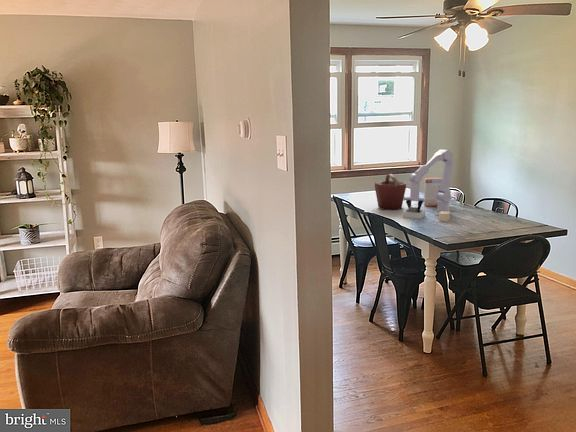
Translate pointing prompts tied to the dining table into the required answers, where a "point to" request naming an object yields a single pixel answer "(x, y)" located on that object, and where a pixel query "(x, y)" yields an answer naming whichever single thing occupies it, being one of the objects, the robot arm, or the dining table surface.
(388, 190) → the bucket
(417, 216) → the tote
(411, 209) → the metal block
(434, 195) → the cracker box
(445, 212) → the carton
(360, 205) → the dining table surface
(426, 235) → the dining table surface
